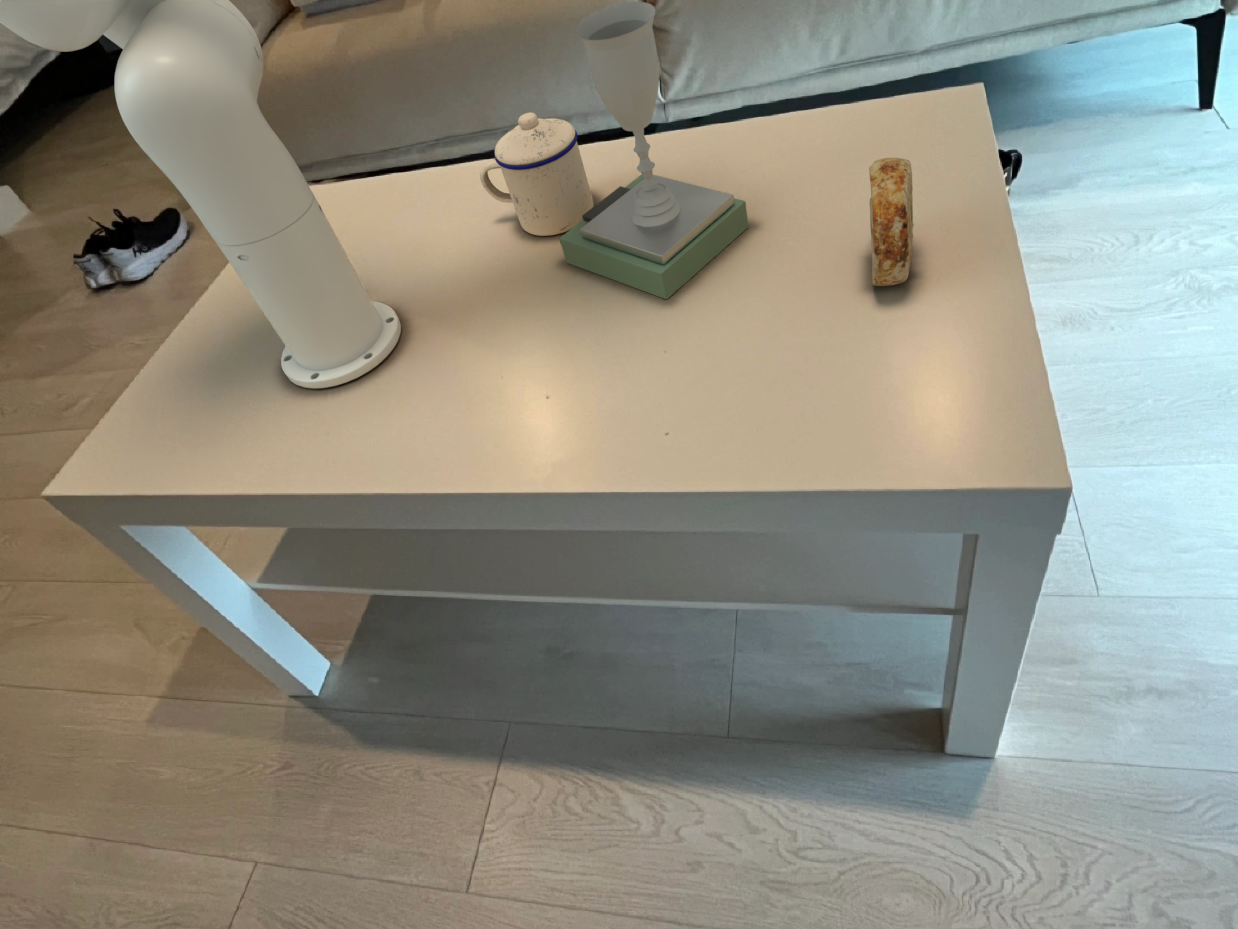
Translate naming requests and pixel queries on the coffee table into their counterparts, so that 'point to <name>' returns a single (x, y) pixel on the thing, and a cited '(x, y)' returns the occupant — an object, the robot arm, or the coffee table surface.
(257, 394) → the coffee table surface
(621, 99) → the chalice
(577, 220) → the teacup with lid
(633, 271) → the scale
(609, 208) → the pan
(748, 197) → the coffee table surface
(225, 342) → the coffee table surface
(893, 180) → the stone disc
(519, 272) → the coffee table surface
